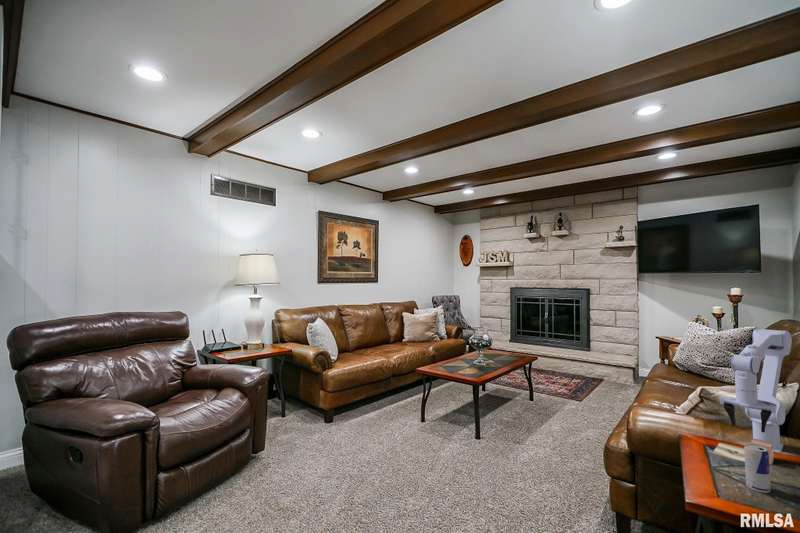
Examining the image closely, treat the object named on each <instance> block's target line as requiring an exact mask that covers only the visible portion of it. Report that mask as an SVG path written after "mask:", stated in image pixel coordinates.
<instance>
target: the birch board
mask: <svg viewBox="0 0 800 533" xmlns="http://www.w3.org/2000/svg"><path fill="white" fill-rule="evenodd" d="M711 454H713V455H717V456H720V457H725V458H729V459H732V460H737V461H740V462H742V463H743V462H744V463H745V453H744V447H740V446H735V445H731V444H728V443H723V442H719V443H718V444H717V446H716V447H715V448H714V450H713V451H712V452H711Z"/></svg>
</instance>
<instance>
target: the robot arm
mask: <svg viewBox="0 0 800 533" xmlns="http://www.w3.org/2000/svg"><path fill="white" fill-rule="evenodd" d="M752 341H753V342H752V344H748V345H746V346H745V347H744V348H743V349H742V351H741V352H740V353H739V354H735V355H733V356H732V357H731V360H730V367H731V370H732V375H733V376H734V381H735V382H734V383H735V384H734V385H735V398H731V397H723V396H720V398H719V404H721V405H723V409H724V410H725V411H726V413H727V416H728V417H729V420H730V423H731V426H732V427H736V425H737V422H736V407H740V408H744V411H745V415H746V416H747V417H748V418H749V420H750V421H751V422H752V439H758V440H762V441H767V442H771V443H773V452H776V453H782V450H783V448H784V444H783V443H781V440H780V439H781V438H780V437H781V436H780V426H781V425H783V424H784V423H785V420H786V406H785V404H784V403H783V402H782V401H781V400H779V399H778V398H777V393H778V387H779V381H780V377H781V376H780V375H781V369H782V364H783V361H784V357H785V356H788V355H790V353H791V350H792V342H793V340H792V334H791V333H790V332H789V331H788V330H780V329H779V330H776V329H765V328H763V329H762V328H758V327H757V328H755V329H754V330H753V331H752ZM763 359H764V360H763ZM762 360H763V365H762V371H761V377H760V382H759V388H758V384H757V383H758V381H757V374H758V373H759V371H760V366H761V362H762Z"/></svg>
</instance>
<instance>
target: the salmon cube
mask: <svg viewBox="0 0 800 533" xmlns="http://www.w3.org/2000/svg"><path fill="white" fill-rule="evenodd" d="M750 444H753V445H758V446H762V447H764V448H766V449H767V450H768V453H769V465H773V463H774V451H773V443H771V442H767V441H762V440H758V439H753V438H752V439H751V440H750Z"/></svg>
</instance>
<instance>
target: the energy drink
mask: <svg viewBox="0 0 800 533" xmlns="http://www.w3.org/2000/svg"><path fill="white" fill-rule="evenodd" d="M743 448H744V453H745V462H744V466H745V467H744V470H745V485H746V487H747V488H748V489H750V490H752V491H755V492H757V493H761V494H769V493H770V492H771V487H772V486H771V472H770V471H771V470H770V464H769V453H768V450H767V449H766V448H764V447H762V446H758V445H753V444H751V443H748V444H747V443H746V444H745V445H744V447H743Z"/></svg>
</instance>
